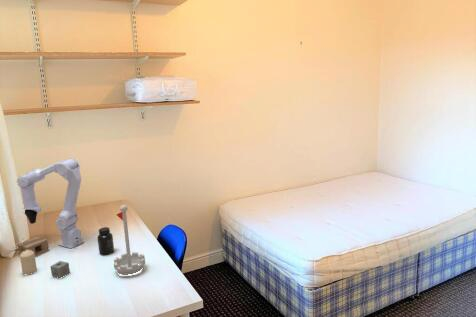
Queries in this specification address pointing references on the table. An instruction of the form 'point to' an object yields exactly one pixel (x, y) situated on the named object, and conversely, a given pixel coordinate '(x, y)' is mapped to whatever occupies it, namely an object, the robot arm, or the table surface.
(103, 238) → the supplement bottle
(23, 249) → the block
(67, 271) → the dice cube
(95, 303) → the table surface
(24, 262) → the candle
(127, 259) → the flag stand
